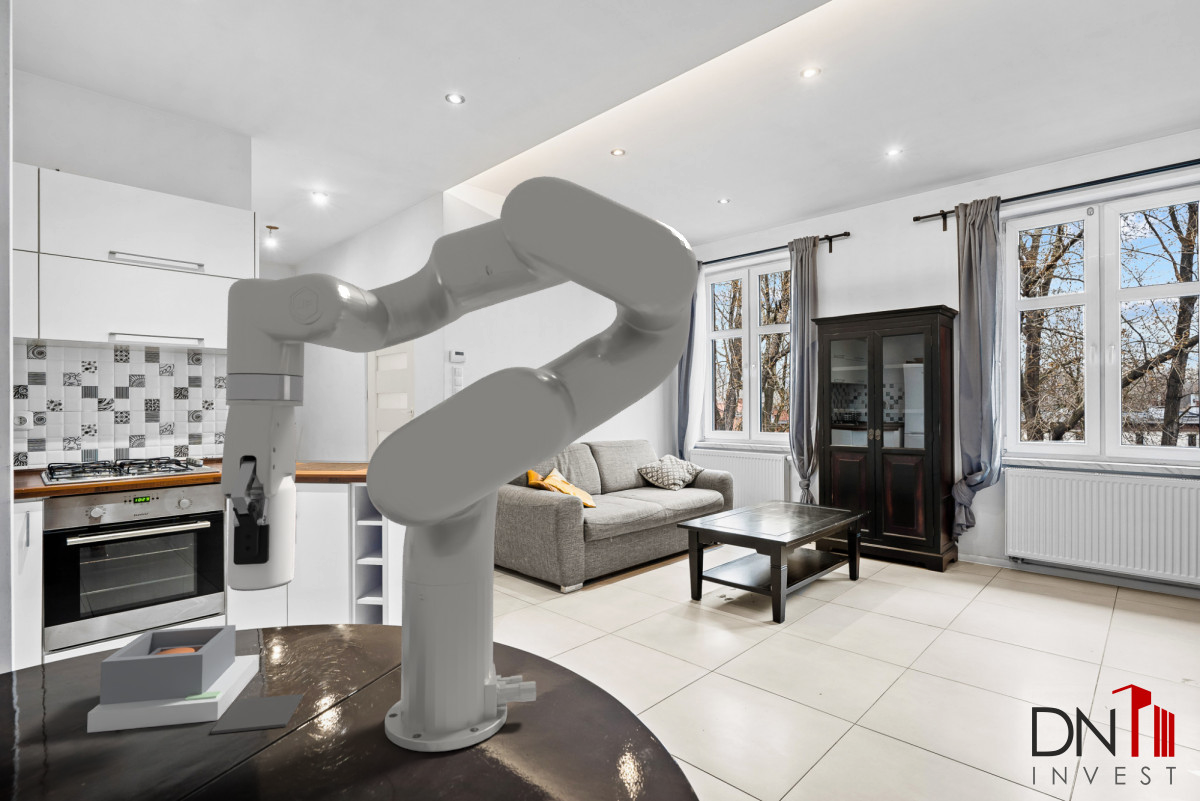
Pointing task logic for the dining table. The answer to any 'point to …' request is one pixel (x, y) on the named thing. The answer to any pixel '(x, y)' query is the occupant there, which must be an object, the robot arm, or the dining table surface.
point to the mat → (258, 713)
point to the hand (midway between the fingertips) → (262, 554)
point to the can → (280, 544)
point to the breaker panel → (171, 679)
